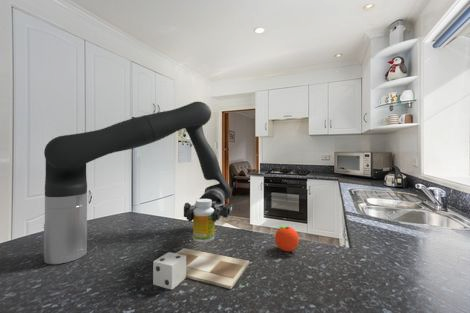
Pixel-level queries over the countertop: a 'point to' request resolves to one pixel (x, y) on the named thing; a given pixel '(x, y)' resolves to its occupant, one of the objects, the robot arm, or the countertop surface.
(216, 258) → the board
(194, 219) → the supplement bottle
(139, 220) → the countertop surface
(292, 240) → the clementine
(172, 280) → the die
